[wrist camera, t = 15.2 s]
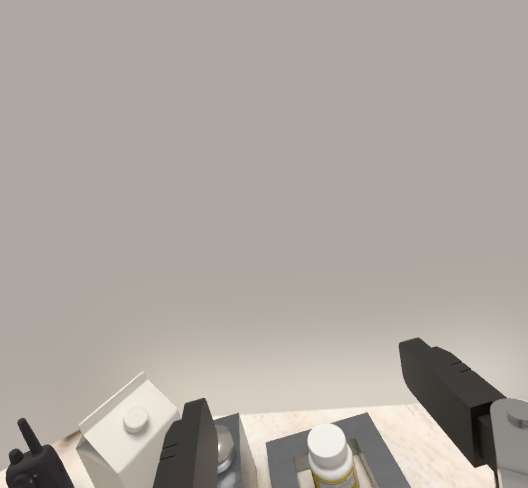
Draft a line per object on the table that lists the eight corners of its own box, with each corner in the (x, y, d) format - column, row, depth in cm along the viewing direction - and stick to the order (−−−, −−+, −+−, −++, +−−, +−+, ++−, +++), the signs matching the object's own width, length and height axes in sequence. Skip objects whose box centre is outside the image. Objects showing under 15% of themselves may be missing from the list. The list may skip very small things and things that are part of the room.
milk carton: (128, 554, 33) (58, 415, 28) (175, 490, 39) (124, 366, 34) (172, 590, 29) (100, 436, 25) (217, 513, 35) (166, 376, 30)
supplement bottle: (323, 471, 37) (309, 416, 35) (363, 480, 35) (351, 422, 33) (314, 515, 32) (298, 455, 30) (359, 528, 30) (346, 465, 28)
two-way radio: (86, 494, 41) (40, 405, 37) (76, 529, 37) (24, 432, 33) (41, 514, 40) (-11, 424, 36) (26, 552, 36) (-34, 455, 32)
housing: (213, 628, 26) (175, 539, 23) (218, 472, 40) (194, 405, 37) (440, 553, 27) (428, 460, 25) (370, 427, 41) (357, 358, 38)
